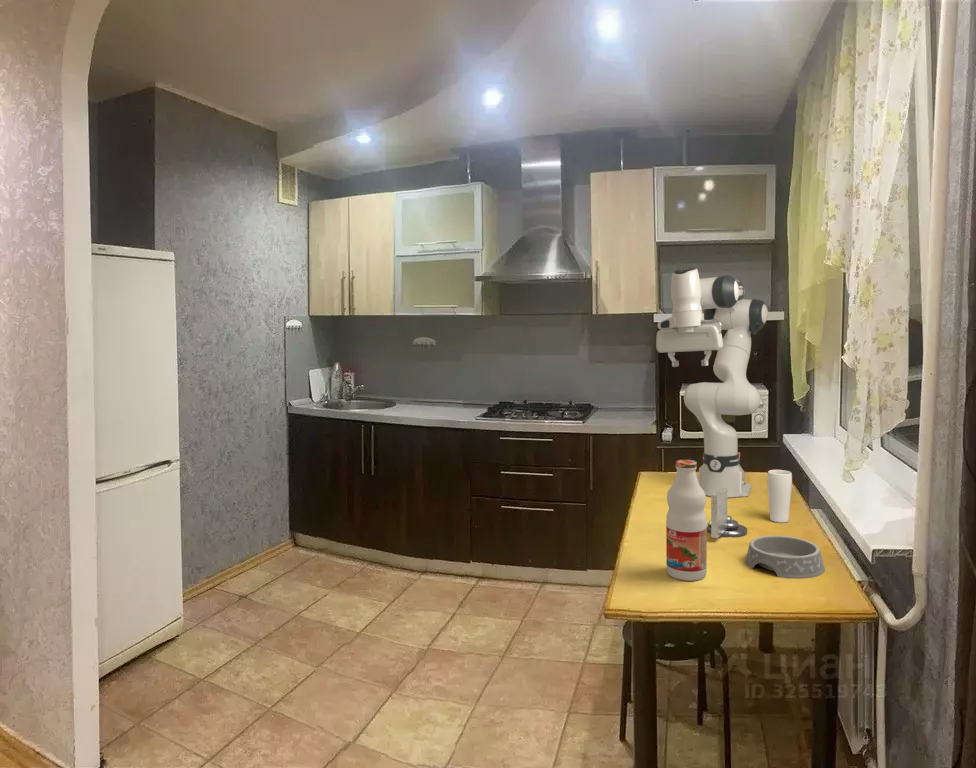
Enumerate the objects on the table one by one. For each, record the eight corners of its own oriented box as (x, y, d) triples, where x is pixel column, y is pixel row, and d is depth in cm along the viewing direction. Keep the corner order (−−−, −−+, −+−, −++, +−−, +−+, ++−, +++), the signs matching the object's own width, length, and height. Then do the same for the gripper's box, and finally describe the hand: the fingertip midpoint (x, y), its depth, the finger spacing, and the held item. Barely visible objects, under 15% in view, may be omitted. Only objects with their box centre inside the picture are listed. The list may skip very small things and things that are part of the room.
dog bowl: (801, 585, 156) (801, 563, 156) (731, 564, 171) (731, 543, 171) (837, 568, 166) (838, 546, 166) (769, 548, 181) (769, 529, 181)
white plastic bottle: (715, 577, 162) (715, 462, 159) (683, 584, 158) (683, 467, 155) (688, 564, 170) (688, 456, 168) (658, 571, 167) (657, 460, 164)
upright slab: (720, 522, 200) (720, 482, 199) (740, 525, 196) (741, 485, 195) (703, 535, 188) (703, 493, 187) (725, 539, 185) (725, 496, 184)
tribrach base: (714, 523, 203) (714, 515, 203) (752, 529, 197) (752, 521, 197) (701, 533, 195) (701, 525, 194) (740, 539, 188) (740, 531, 188)
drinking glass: (795, 523, 201) (796, 474, 199) (772, 524, 201) (773, 475, 199) (785, 517, 207) (786, 469, 206) (763, 517, 207) (763, 469, 206)
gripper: (725, 318, 202) (727, 364, 203) (661, 323, 215) (664, 366, 216) (717, 319, 197) (719, 366, 198) (652, 323, 210) (655, 368, 211)
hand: (690, 366), depth 207 cm, fingers open, 8 cm apart
